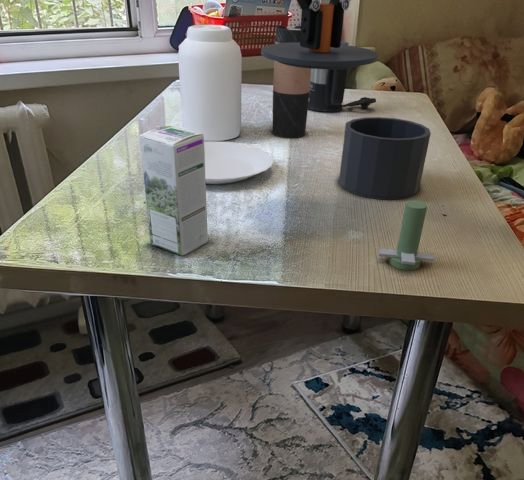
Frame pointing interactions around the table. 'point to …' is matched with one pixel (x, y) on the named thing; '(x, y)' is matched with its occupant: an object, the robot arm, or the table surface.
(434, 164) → the table surface
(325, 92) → the milk frother
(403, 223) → the green peg on stand
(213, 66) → the white jar
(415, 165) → the bowl
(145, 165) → the syrup box
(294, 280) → the table surface
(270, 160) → the plate
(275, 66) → the travel mug
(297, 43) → the lid
